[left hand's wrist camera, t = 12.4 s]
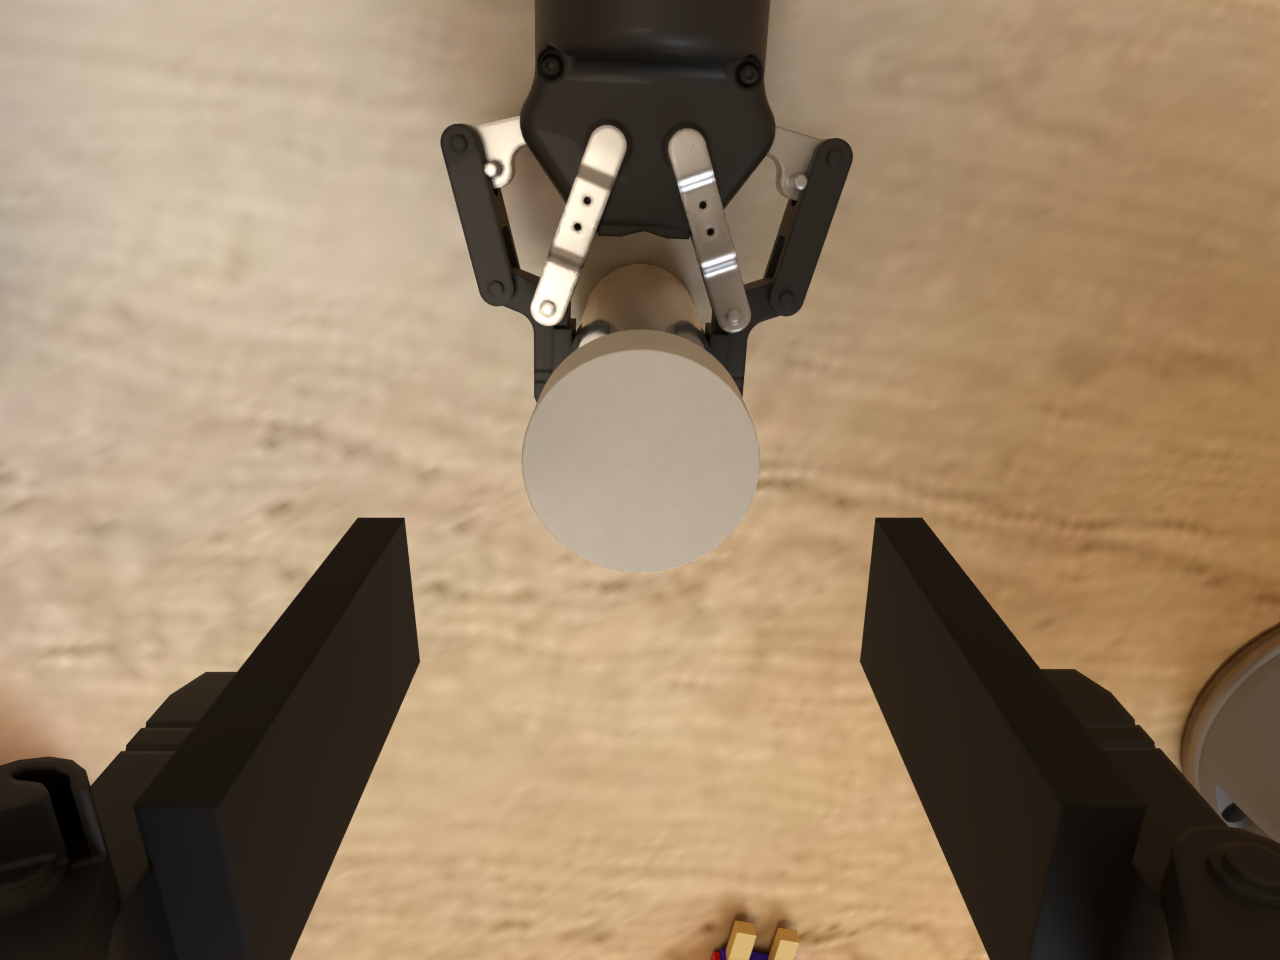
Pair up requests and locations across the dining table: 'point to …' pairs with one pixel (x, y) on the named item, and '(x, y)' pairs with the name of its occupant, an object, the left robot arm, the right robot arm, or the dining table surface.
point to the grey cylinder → (640, 306)
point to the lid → (640, 452)
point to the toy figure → (742, 939)
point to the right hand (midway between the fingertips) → (636, 421)
